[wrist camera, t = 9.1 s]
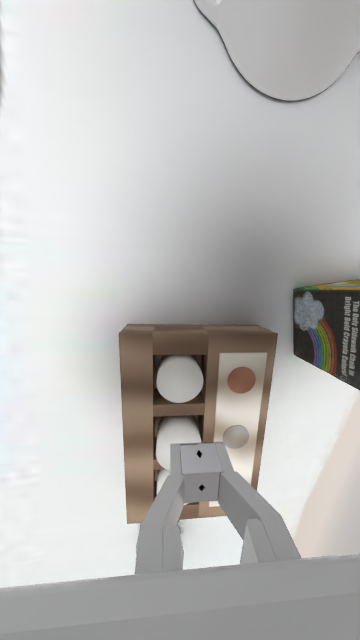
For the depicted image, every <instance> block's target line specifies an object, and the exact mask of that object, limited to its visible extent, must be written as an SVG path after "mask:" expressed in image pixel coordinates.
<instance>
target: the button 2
mask: <svg viewBox="0 0 360 640" xmlns="http://www.w3.org/2000/svg"><path fill="white" fill-rule="evenodd" d="M202 386H203V375H202V372H201V369H200V367H199V365H198V362H197V360H196V358H195V357H194V355H164V356H163V357H162V358H161V359H160V361H159V364H158V372H157V388H158V391H159V393H160V394H161V395H162V396H163V397H164V398H165V399H167V400H168V401H171V402H175V403H183V402H187V401H190V400H192V399H193V398H195V397H196V396H197V395H198V394H199V392H200V391H201V389H202Z"/></svg>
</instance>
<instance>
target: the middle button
mask: <svg viewBox="0 0 360 640" xmlns="http://www.w3.org/2000/svg"><path fill="white" fill-rule="evenodd" d="M200 442H201V438H200V433H199V429H198V424H197V421H196V419H195V418H194V417H193V416H192V415H182V416H164V417H163V418H162V419H161V420H160V422H159V424H158V428H157V443H156V458H157V461H158V462H159V464H160V465H161V466H162V467H163V468H165V469H167V470H169V471H170V444H173V443H200Z"/></svg>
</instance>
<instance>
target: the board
mask: <svg viewBox="0 0 360 640" xmlns="http://www.w3.org/2000/svg"><path fill="white" fill-rule="evenodd" d="M277 336H278V334H277V333H274V332H272V331H270V330H268V329H265V328H263V327H261V326H259V325H133V324H128V325H127V326H126V327H125V328H124V329H123V330H122V331H121V332H120V333H119V348H120V371H121V394H122V417H123V440H124V463H125V486H126V509H127V524H131V523H142V522H143V520H144V518H145V516H146V514H147V513H148V511H149V509H150V507H151V505H152V503H153V502H154V500H155V498H156V496H157V474H158V470H160V469H165V468H163V467H162V466H161V465H160V464H159V462H158V461H157V458H156V443H157V428H158V424H159V422H160V420H161V419H162V418H163V417H164V416H182V415H192V416H193V417H194V418H195V419H196V421H197V424H198V429H199V433H200V438H201V442H221V441H223V442H224V444H225V446H226V449H227V452H228V455H229V458H230V461H231V463H232V466H233V469H234V472H238V473H239V474H240V475H241V476H242V477H243V478H244V479H245V480H246V481H247V482H248V483H249V484H250V485H251V486H252V487H253V488H254V489H255V490H256V491H257V485H258V477H259V470H260V462H261V455H262V447H263V440H264V433H265V425H266V418H267V410H268V403H269V396H270V388H271V381H272V373H273V366H274V358H275V351H276V344H277ZM164 355H194V357H195V358H196V360H197V362H198V365H199V367H200V369H201V372H202V375H203V386H202V389H201V391H200V392H199V394H198V395H197V396H196V397H195V398H193V399H192V400H190V401H187V402H183V403H175V402H171V401H168V400H167V399H165V398H164V397H163V396H162V395H161V394H160V393H159V391H158V388H157V372H158V364H159V361H160V359H161V358H162V357H163V356H164ZM217 516H227V515H226V514H225V512H224V511H223V509H222V508H221V506H220V505H219V503H218V501H207V502H193V503H188V504H186V505H184V506H183V509H182V512H181V515H180V517H179V520H180V519H193V518H205V517H217Z"/></svg>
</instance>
